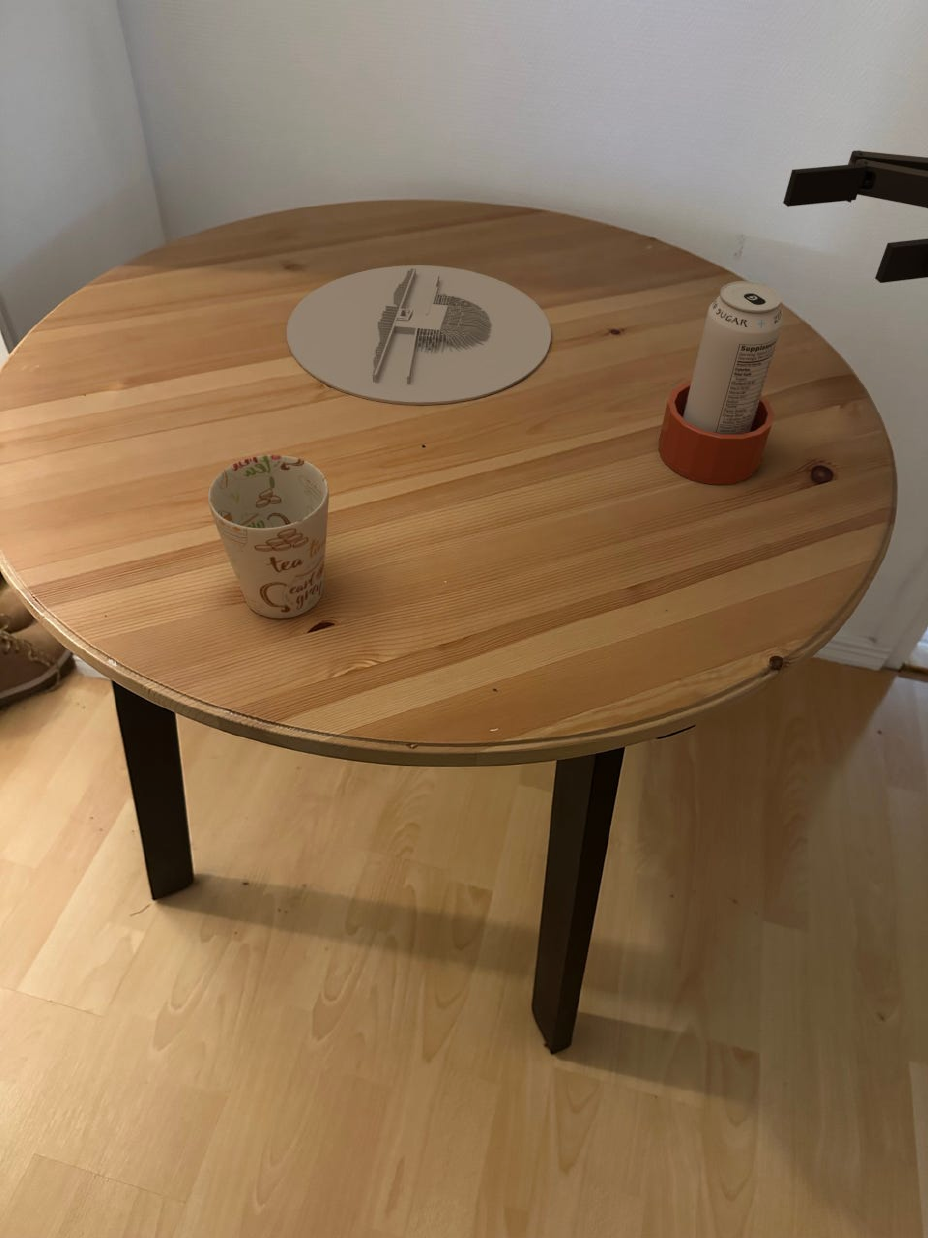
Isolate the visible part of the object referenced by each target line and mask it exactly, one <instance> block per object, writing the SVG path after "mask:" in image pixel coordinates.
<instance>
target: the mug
mask: <svg viewBox="0 0 928 1238" xmlns="http://www.w3.org/2000/svg"><path fill="white" fill-rule="evenodd" d="M329 500H330V489H329V484H328V481H327V479H326V477H325V475H324V474H323V472H322V471H321V470H320V469H319V468H318V467H317V466H315V465H313V464H312V463H310V462H309V461H307V460H305V459H302V458H298V457H295V456H290V455H283V454H266V455H264V454H263V455H257V456H252V457H249V458H245V459H243V460H240V461H238V462H235V463H233V464H231V465H230V466H228V467H226V468H225V469H224V470H222V471H221V472H220V473H219V474H218V475H217V476H216V477H215V478H214V480H213V481H212V482H211V484H210V486H209V489H208V494H207V502H208V506H209V510H210V513H211V516H212V519H213V522H214V523H215V526H216V529H217V532H218V534H219V537H220V539H221V541H222V542H221V543H222V544H223V547H224V549H225V551H226V554H227V557H228V560H229V563H230V565H231V567H232V569H233V572H234V575H235V578H236V580H237V584H238V585H239V588H240V591H241V593H242V596H243V598H244V601H245V602H246V604H247V606H248V607H249V608H250V609H251V610H252V611H253V612H254V613H256V614H258V615H261V616H263V617H265V618H269V619H270V618H271V619H280V620H281V619H289V618H294V617H295V618H296V617H297V616H300V615H303V614H304V613H306V612H308V611H310V610H311V609H312V608H314V606H316V604H317V603H318V602H319V601H320V599H321V596H322V594H323V590H324V577H325V562H326V561H325V560H326V547H327V533H328V518H329V517H328V516H329V502H330V501H329Z"/></svg>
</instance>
